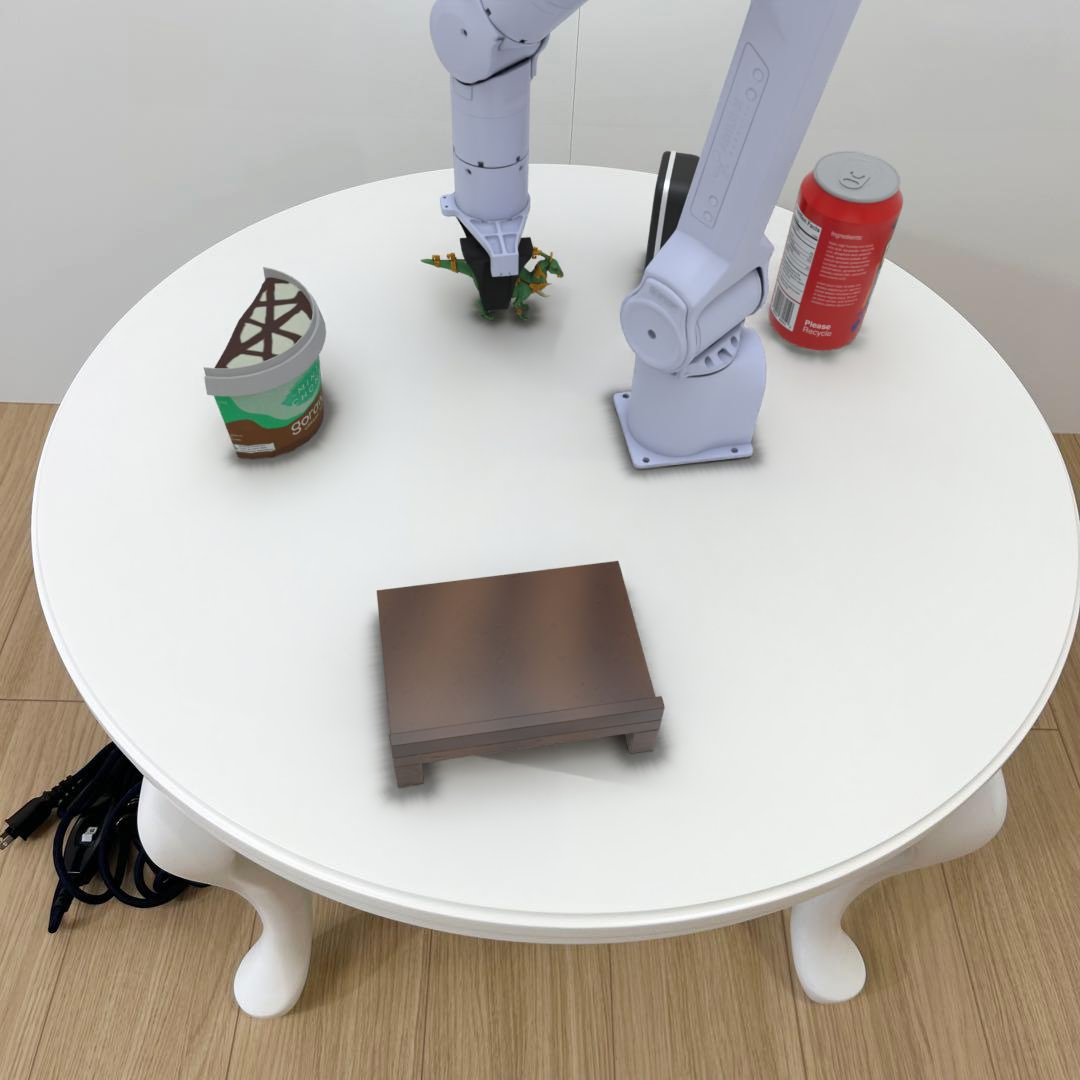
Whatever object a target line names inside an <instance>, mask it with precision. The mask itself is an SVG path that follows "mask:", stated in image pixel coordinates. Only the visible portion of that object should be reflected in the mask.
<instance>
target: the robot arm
mask: <svg viewBox="0 0 1080 1080" xmlns="http://www.w3.org/2000/svg"><path fill="white" fill-rule="evenodd" d="M588 1H589V0H435V2H434V3H433V4H432V7H431V10H430V14H429V34H430V38H431V42H432V46H433V48H434V51H435V53H436V55H437V58H438V59H439V61H440V63H441V64H442V66H443V67H444V68H445V70H446V71H447V72H448V74H449V82H450V83H449V84H450V85H449V86H450V87H449V88H450V111H451V134H452V156H453V179H454V192H453V193H447V194H443V195H441V196H440V197H439V206H440V207H439V208H440V210H441V214H442V216H444V217H446V218H447V217H448V218H450V217H451V218H452V217H455V219H456V220H457V222H458V223H459V225H460V227H461V228H462V230H463V233H464V235H465V237H460V238H459V244H460V249H461V255H462V257H463V259H465V261H466V263H467V265H468V266H469V267H470V268H471V270H472V272H473V273H474V276H475V278H476V281H477V285H478V290H479V291H478V290H477V291H478V294H479V299H480V300H481V303H482V306H483V309H484V311H488V312H494V311H504V310H506V311H507V310H508V309H509V307H510V304H511V302H512V299H513V298H512V296H513V292H514V288H515V285H516V282H517V279H518V277H519V274H520V273H521V271H522V269H523V268H524V267H525V266H526V265H527V264H528V263H529V261H530V260H531V259H532V254H533V247H534V244H533V241H532V237H531V236H525V237H523V234H524V231H525V226H526V224H527V220H528V217H529V214H530V211H531V195H530V193H529V172H530V171H529V167H530V166H529V165H530V164H529V163H530V122H531V121H530V119H531V115H530V114H531V82H532V80H534V77H536V76H537V68H538V67H537V66H538V65H537V64H538V58H539V56H540V54H541V53H542V52H543V51H544V50H545V49H546V47H547V46H548V44H549V40H550V36H551V33H552V32H553V31H554V30H556V29H557V28H558V27H559V26H560V25H561V24H562V23H563V22H565V21H566V20H567V19H568V18H570V17H571V16H572V15H573V14H574V13H575V12H577V11H578V10H579V9H580V8H581V7H582V6H584V4H586V3H587V2H588ZM862 1H863V0H750V4H749V7H748V10H747V13H746V16H745V19H744V21H743V22H744V23H743V25H742V27H741V28H742V29H741V31H740V34H739V38H738V41H737V43H736V46H735V50H734V53H733V55H732V59H731V62H730V64H729V68H728V71H727V74H726V77H725V79H724V82H723V86H722V89H721V92H720V95H719V97H718V101H717V104H716V107H715V110H714V114H713V117H712V120H711V123H710V125H709V129H708V131H707V135H706V137H705V141H704V145H703V147H702V149H701V152H700V156H699V157H700V159H699V162H698V165H697V168H696V171H695V174H694V177H693V180H692V183H691V186H690V189H689V192H688V195H687V199H686V202H685V205H684V208H683V211H682V214H681V217H680V220H679V223H678V226H677V229H676V230H675V232H674V233H673V234H672V236H671V237H670V238H669V240H668V241H667V242H666V243H665V244H664V246H663V247H662V248H661V249H660V251H659V252H658V253H657V254H656V256H655V257H654V258H653V260H652V261H651V262H650V263H649V265H648V266H647V268H646V269H645V272H644V271H643V276H642V278H641V280H640V282H639V284H638V286H637V287H635V288H634V289H633V290H631V291H630V292H628V293H627V294H626V295H625V297H623V300H622V302H621V304H620V308H619V321H620V326H621V331H622V334H623V336H624V339H625V342H626V343H627V345H628V347H629V348H630V350H631V351H632V352H633V354H634V355H635V357H634V367H633V374H632V381H631V388H630V391H623V392H616V393H615V394H614V395H613V398H612V399H613V400H612V401H613V404H614V408H615V410H616V414H617V417H618V420H619V424H620V427H621V430H622V434H623V436H624V440H625V443H626V447H627V450H628V453H629V456H630V458H631V462H632V466H633V467H634V468H635V469H638V470H639V469H640V470H641V469H650V468H651V469H652V468H658V467H667V466H669V467H670V466H676V465H686V464H687V465H688V464H695V463H705V462H713V461H723V460H731V459H741V458H748V457H751V456H752V455H753V453H754V447H753V445H752V439H753V436H754V432H755V428H756V425H757V421H758V417H759V414H760V410H761V407H762V403H763V399H764V396H765V391H766V385H767V358H766V354H765V349H764V344H763V342H762V340H761V337H760V335H759V333H758V332H757V331H756V330H755V329H754V328H753V327H749V326H745V323H746V318H748V317H751V316H753V315H755V314H756V313H758V311H760V310H762V307H763V306H764V305H765V303H766V301H767V299H768V296H769V290H770V281H769V280H770V279H769V267H770V266H769V265H770V261H771V258H772V256H773V253H774V252H775V246H774V244H773V243H772V242H771V241H770V239H769V238H768V237H767V235H766V234H765V232H766V228H767V227H768V225H769V222H770V220H771V217H772V215H773V212H774V211H775V207H776V205H777V204H778V200H779V198H780V196H781V194H782V191H783V188H784V186H785V184H786V181H787V179H788V178H789V175H790V171H791V170H792V167H793V165H794V162H795V160H796V157H797V155H798V153H799V150H800V149H801V146H802V144H803V141H804V139H805V136H806V135H807V132H808V130H809V127H810V124H811V122H812V120H813V117H814V115H815V112H816V110H817V108H818V105H819V103H820V101H821V99H822V96H823V94H824V91H825V89H826V86H827V84H828V81H829V80H830V77H831V74H832V72H833V70H834V67H835V65H836V62H837V60H838V57H839V55H840V53H841V51H842V48H843V47H844V44H845V41H846V39H847V37H848V34H849V32H850V30H851V27H852V25H853V22H854V21H855V18H856V15H857V13H858V10H859V8H860V5H861V3H862Z"/></svg>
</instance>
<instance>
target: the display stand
mask: <svg viewBox="0 0 1080 1080" xmlns="http://www.w3.org/2000/svg"><path fill="white" fill-rule="evenodd" d="M376 599H377V600H376V602H377V609H378V610H377V611H378V621H379V631H380V642H381V643H380V644H381V654H382V665H383V673H384V674H383V675H384V687H385V694H386V695H385V696H386V705H387V707H386V708H387V717H388V726H389V727H388V728H389V735H388V740H389V747H390V752H391V753H390V754H391V758H392V764H393V765H392V766H393V770H394V776H395V780H396V787H397V788H398V789H399V788H407V787H414V786H420V785H424V784H425V780H424V770H423V764H426V763H433V762H439V761H448V760H453V759H455V760H456V759H462V758H468V757H474V756H482V755H489V754H495V753H503V752H510V751H517V750H524V749H531V748H538V747H545V746H551V745H558V744H563V743H571V742H579V741H586V740H592V739H600V738H607V737H613V736H614V737H615V736H620V735H624V737H625V741H626V744H627V745H626V746H627V749H628V752H629V754H637V753H644V752H650V751H655V747H656V743H657V740H658V736H659V732H660V728H661V725H662V719H663V716H664V712H665V709H666V707H665V702H664V699H663V696H662V695H659V696H656V693H655V689H654V686H653V682H652V678H651V675H650V671H649V667H648V664H647V661H646V657H645V656H646V655H645V653H644V650H643V645H642V642H641V637H640V634H639V631H638V627H637V624H636V623H637V622H636V620H635V616H634V613H633V609H632V608H633V607H632V605H631V602H630V598H629V594H628V591H627V587H626V583H625V579H624V576H623V572H622V569H621V565H620V561H619V560H613V561H604V562H597V563H588V564H579V565H573V566H572V565H571V566H565V567H564V566H563V567H558V568H548V569H541V570H540V569H539V570H532V571H531V570H530V571H523V572H515V573H507V574H499V575H491V576H483V577H474V578H466V579H465V578H464V579H458V580H457V579H456V580H449V581H441V582H434V583H427V584H426V583H425V584H416V585H409V586H400V587H393V588H392V587H391V588H384V589H378V590H377V589H376Z"/></svg>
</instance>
